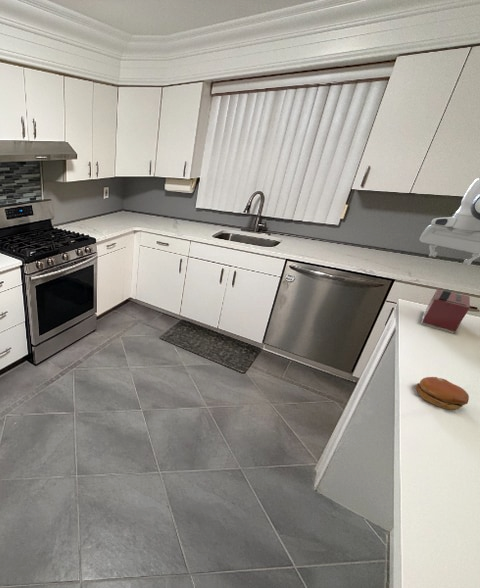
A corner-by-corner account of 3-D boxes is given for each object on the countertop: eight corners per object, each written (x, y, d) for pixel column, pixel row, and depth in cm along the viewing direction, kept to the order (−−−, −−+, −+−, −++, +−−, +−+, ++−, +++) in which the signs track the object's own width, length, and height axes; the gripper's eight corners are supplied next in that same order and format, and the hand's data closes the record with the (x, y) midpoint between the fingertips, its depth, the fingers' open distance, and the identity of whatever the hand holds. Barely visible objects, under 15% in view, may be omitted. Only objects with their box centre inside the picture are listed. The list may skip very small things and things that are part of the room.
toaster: (423, 312, 132) (437, 288, 127) (455, 320, 125) (470, 296, 121) (420, 323, 122) (434, 299, 118) (454, 333, 116) (470, 307, 112)
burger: (433, 409, 81) (442, 395, 79) (405, 385, 90) (412, 372, 88) (475, 413, 80) (485, 399, 78) (442, 388, 89) (450, 375, 87)
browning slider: (439, 296, 119) (443, 289, 117) (446, 298, 117) (451, 291, 116) (439, 298, 117) (443, 291, 116) (446, 300, 116) (451, 292, 115)
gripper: (517, 229, 102) (493, 268, 108) (436, 217, 119) (418, 251, 125) (509, 230, 99) (484, 270, 105) (427, 218, 117) (410, 253, 122)
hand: (448, 260), depth 115 cm, fingers open, 8 cm apart
